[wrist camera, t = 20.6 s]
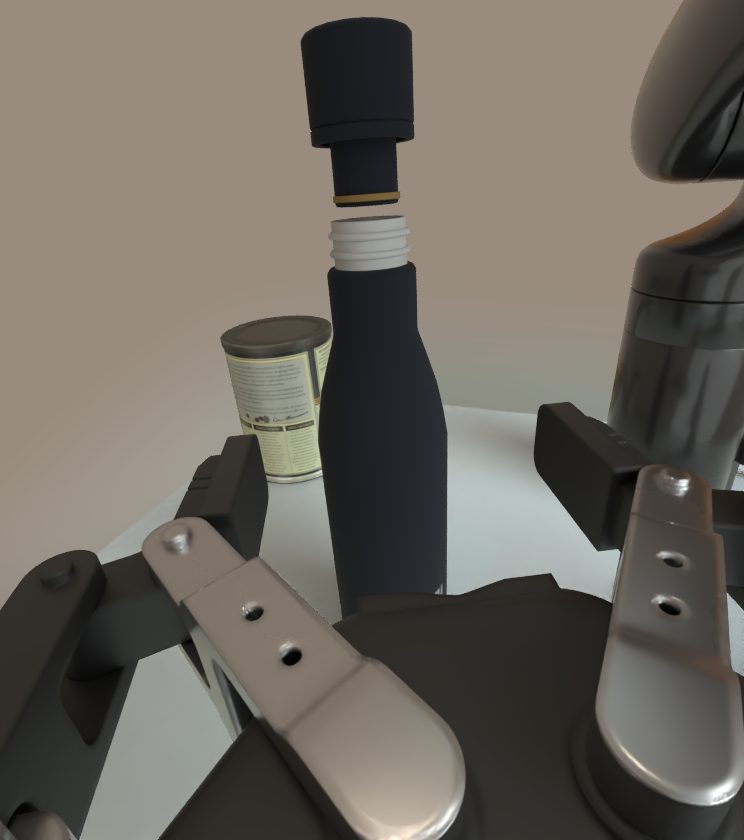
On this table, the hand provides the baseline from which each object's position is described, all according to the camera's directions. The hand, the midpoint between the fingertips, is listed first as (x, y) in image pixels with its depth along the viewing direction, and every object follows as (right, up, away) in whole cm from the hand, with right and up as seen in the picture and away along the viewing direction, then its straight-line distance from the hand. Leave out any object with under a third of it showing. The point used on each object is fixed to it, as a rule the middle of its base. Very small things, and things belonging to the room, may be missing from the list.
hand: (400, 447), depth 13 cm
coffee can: (-9, -3, +37) cm, 38 cm away
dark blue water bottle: (+1, -13, +16) cm, 21 cm away
